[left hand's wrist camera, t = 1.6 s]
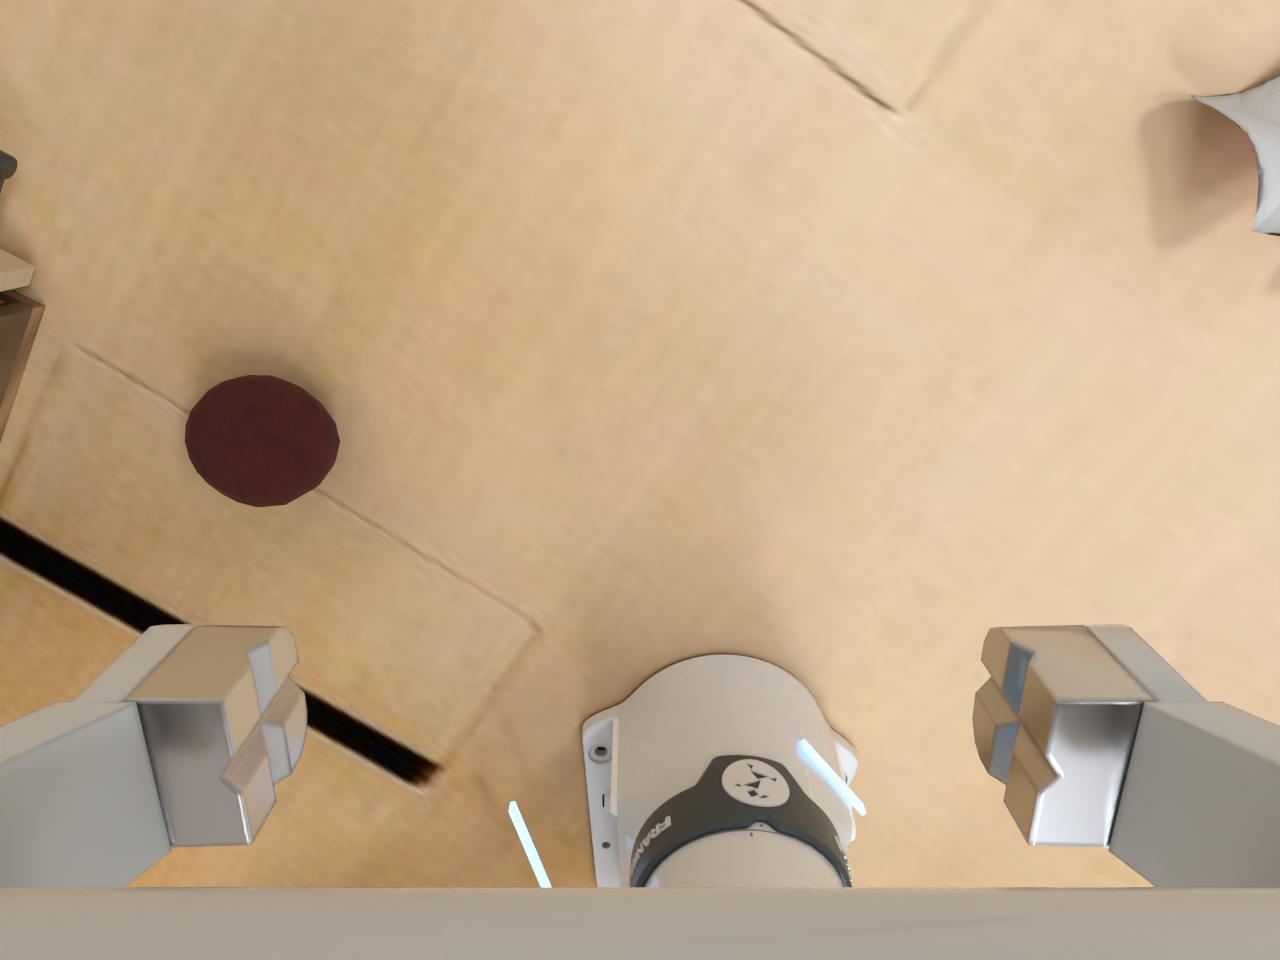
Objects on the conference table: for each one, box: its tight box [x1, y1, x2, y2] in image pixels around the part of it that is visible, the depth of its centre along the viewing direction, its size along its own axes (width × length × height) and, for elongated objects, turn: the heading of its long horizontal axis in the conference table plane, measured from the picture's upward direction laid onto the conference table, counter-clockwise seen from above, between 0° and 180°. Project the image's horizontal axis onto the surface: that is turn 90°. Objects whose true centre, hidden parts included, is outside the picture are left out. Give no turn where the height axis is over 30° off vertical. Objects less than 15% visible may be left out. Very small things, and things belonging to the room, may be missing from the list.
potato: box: [185, 375, 340, 507], centre depth 48 cm, size 7×8×7 cm
